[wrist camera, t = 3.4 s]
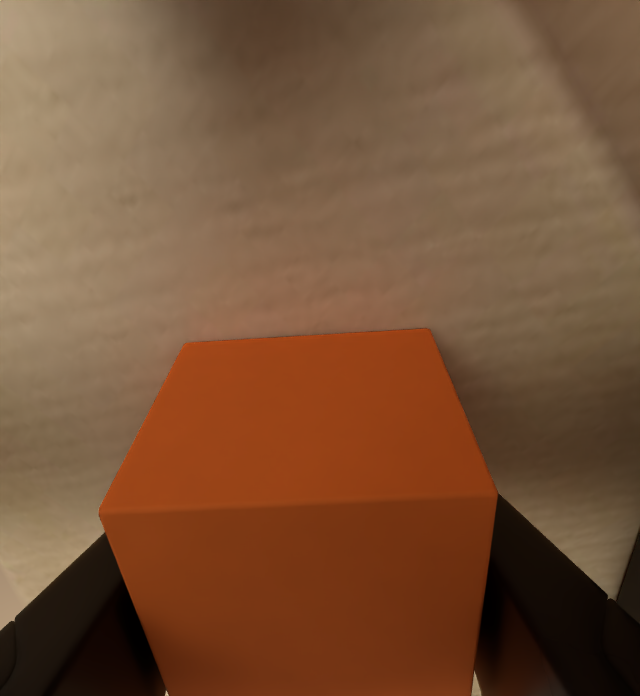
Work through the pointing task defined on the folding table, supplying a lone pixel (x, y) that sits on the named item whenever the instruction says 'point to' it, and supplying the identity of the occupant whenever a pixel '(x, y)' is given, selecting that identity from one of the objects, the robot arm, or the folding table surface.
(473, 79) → the folding table surface
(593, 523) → the folding table surface
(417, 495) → the orange block
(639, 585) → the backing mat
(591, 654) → the robot arm
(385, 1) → the folding table surface
